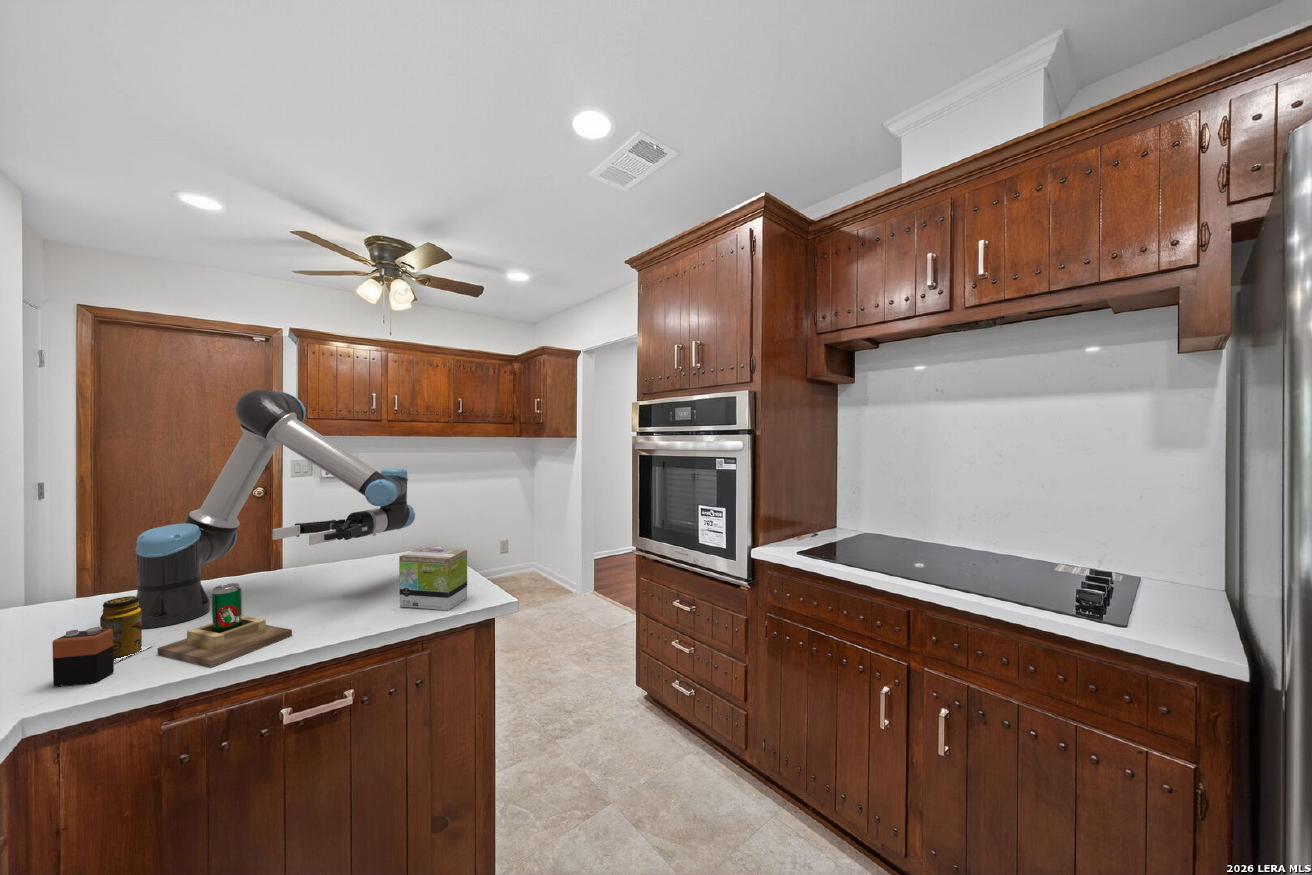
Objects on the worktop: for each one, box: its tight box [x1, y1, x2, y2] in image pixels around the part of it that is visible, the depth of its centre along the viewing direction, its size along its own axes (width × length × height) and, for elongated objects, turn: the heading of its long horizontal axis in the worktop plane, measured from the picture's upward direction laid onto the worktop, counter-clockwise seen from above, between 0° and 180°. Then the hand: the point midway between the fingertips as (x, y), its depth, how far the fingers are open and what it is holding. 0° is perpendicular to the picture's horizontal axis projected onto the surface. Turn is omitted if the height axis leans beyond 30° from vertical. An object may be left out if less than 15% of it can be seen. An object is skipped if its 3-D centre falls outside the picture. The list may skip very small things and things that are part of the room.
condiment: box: [99, 595, 148, 664], centre depth 104 cm, size 7×8×12 cm
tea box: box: [398, 546, 468, 612], centre depth 135 cm, size 15×10×15 cm, turn 82°
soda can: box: [211, 582, 243, 633], centre depth 109 cm, size 5×5×12 cm
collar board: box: [156, 615, 293, 669], centre depth 109 cm, size 18×16×4 cm
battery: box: [51, 626, 115, 687], centre depth 94 cm, size 4×7×10 cm, turn 104°
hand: (291, 537), depth 123 cm, fingers open, 13 cm apart
